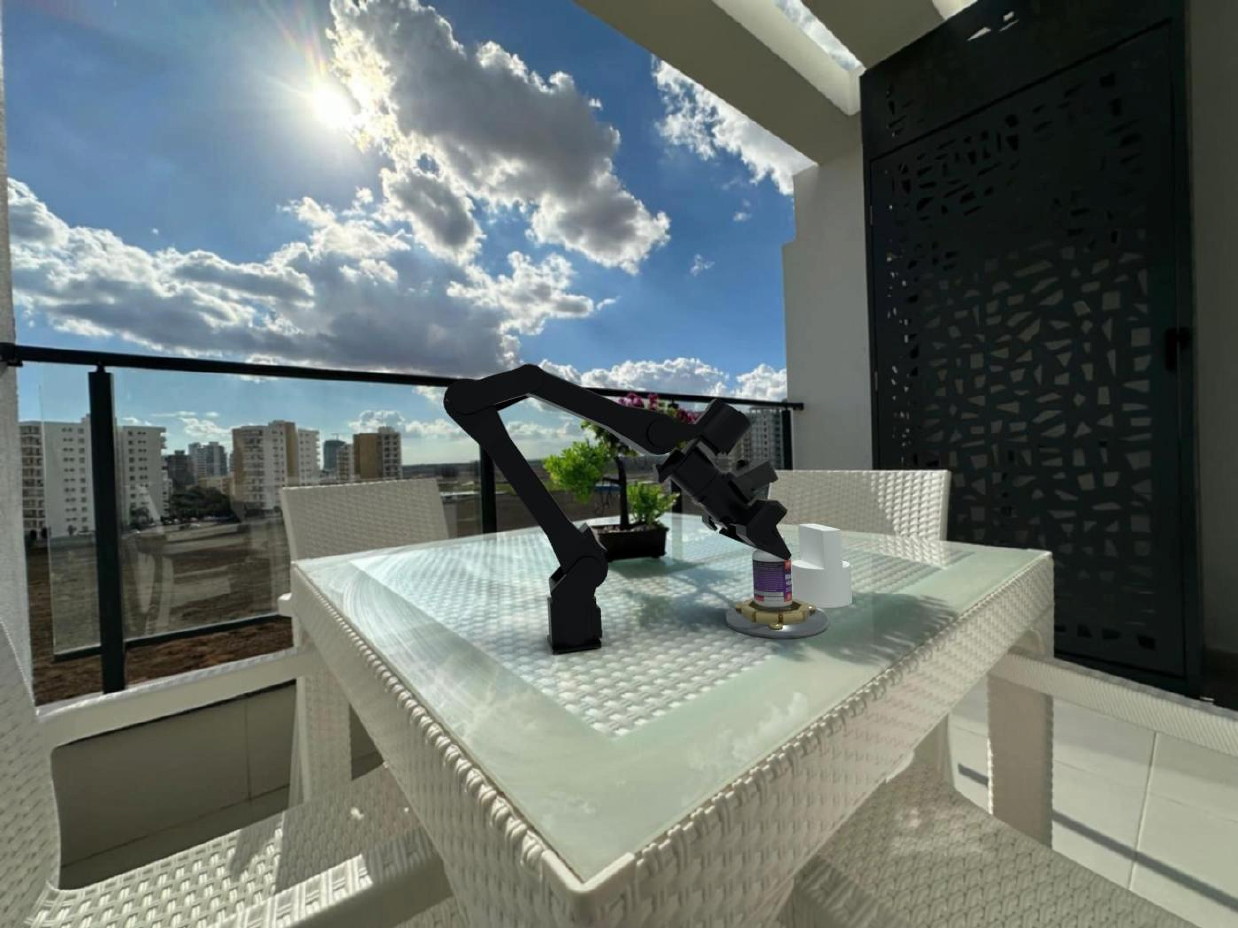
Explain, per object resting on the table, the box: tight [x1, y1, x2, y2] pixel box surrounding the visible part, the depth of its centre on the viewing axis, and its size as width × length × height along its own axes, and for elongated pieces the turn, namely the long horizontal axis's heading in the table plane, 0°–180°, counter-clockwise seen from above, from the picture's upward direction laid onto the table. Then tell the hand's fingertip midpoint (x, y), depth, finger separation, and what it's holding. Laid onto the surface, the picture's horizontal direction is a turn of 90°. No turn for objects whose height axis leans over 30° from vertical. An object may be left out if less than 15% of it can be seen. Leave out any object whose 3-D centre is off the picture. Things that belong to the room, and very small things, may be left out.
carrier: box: [725, 597, 829, 640], centre depth 75 cm, size 14×14×2 cm
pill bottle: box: [751, 534, 793, 607], centre depth 75 cm, size 5×5×10 cm
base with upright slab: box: [791, 523, 853, 609], centre depth 85 cm, size 9×9×12 cm
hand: (779, 554), depth 75 cm, fingers closed on pill bottle, 5 cm apart
